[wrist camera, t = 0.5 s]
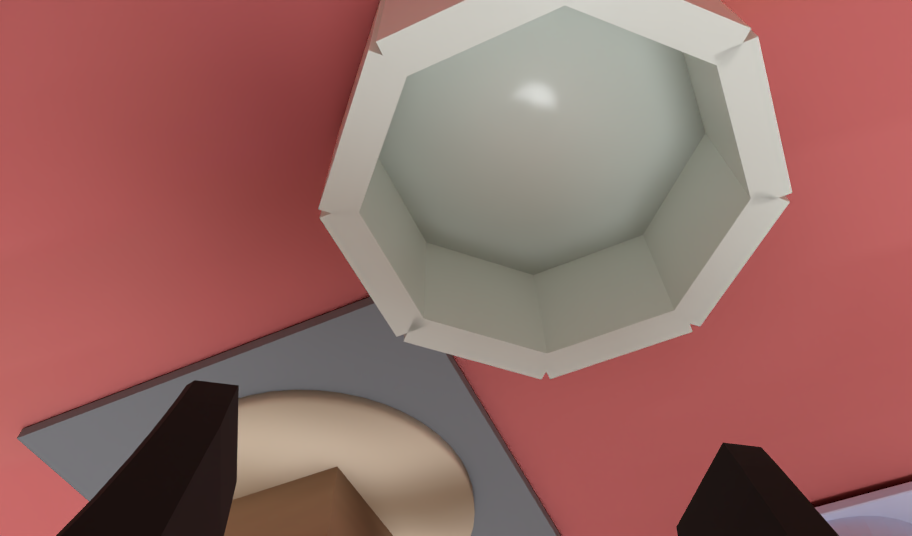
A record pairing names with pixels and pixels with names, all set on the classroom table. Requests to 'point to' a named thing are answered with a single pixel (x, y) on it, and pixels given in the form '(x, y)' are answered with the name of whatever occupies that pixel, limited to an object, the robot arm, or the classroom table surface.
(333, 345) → the mat
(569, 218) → the bowl
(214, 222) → the classroom table surface
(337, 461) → the lid
